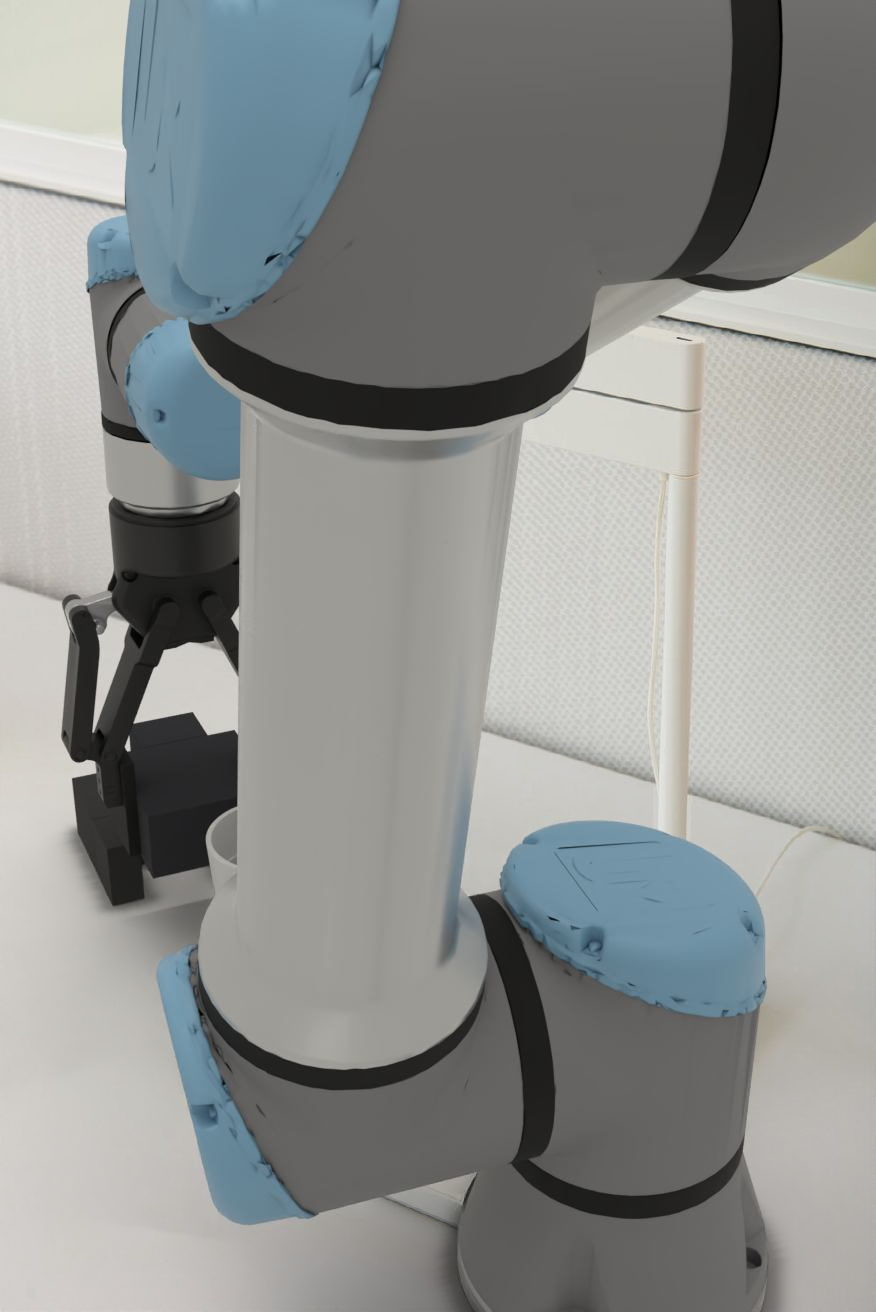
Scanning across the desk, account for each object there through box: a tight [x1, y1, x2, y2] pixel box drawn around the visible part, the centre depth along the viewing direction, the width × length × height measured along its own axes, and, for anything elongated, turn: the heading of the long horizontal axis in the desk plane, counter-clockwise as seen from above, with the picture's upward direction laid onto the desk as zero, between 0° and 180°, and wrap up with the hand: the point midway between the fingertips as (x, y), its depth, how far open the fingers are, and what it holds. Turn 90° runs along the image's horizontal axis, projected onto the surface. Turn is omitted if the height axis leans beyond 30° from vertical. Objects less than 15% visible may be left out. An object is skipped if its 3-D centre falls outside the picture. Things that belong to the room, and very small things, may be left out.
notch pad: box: [71, 772, 146, 907], centre depth 113 cm, size 10×10×4 cm
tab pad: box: [127, 711, 238, 879], centre depth 104 cm, size 11×8×4 cm
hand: (197, 828), depth 103 cm, fingers closed on tab pad, 8 cm apart
